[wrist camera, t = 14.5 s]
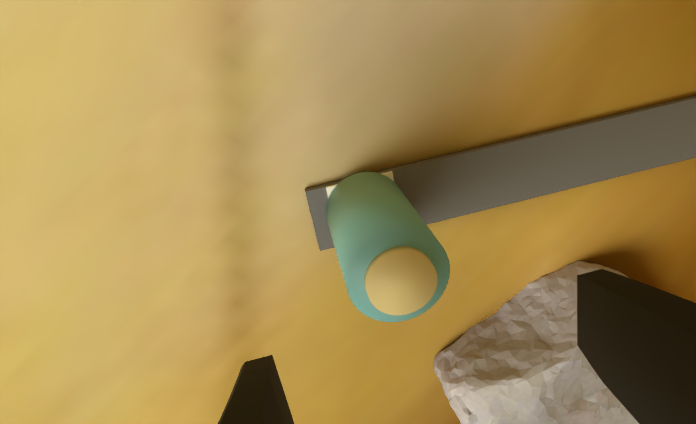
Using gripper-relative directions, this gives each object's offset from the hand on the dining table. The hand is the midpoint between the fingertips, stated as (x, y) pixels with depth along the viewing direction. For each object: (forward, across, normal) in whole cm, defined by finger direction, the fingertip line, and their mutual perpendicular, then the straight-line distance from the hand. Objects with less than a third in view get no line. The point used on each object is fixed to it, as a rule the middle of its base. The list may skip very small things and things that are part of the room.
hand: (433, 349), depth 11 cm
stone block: (+9, -8, +11) cm, 16 cm away
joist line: (+8, -9, 0) cm, 12 cm away
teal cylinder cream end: (+8, 0, 0) cm, 8 cm away
